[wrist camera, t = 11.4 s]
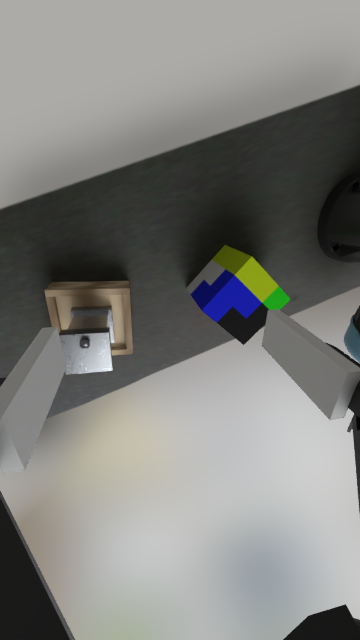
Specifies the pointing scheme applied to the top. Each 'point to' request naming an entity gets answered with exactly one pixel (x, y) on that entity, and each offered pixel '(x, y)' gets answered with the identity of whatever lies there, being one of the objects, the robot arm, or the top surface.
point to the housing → (88, 340)
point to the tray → (93, 294)
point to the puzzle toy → (236, 293)
